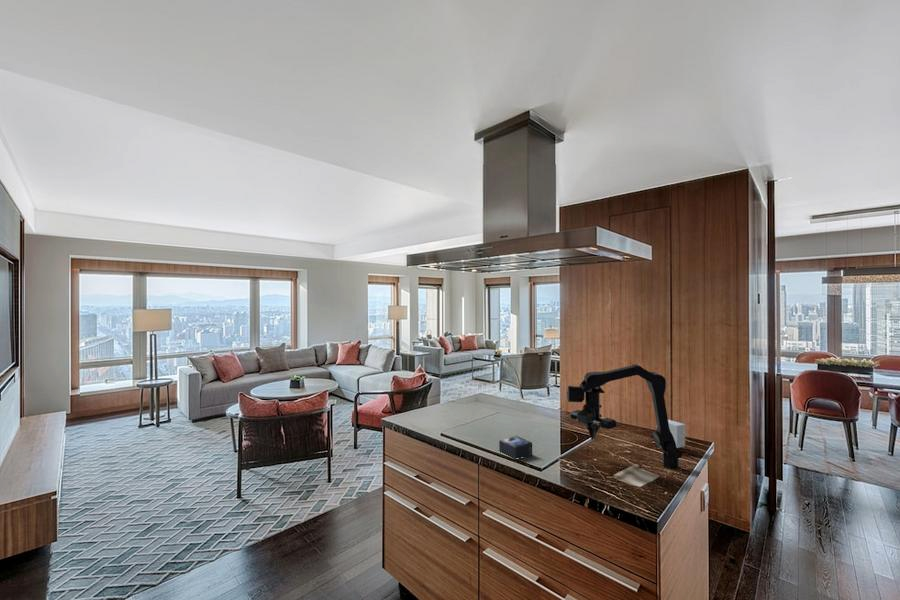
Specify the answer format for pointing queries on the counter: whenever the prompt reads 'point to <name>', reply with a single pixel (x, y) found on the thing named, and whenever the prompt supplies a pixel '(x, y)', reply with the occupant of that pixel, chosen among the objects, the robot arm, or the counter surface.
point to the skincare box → (677, 432)
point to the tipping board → (635, 476)
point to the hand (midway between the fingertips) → (592, 439)
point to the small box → (515, 447)
